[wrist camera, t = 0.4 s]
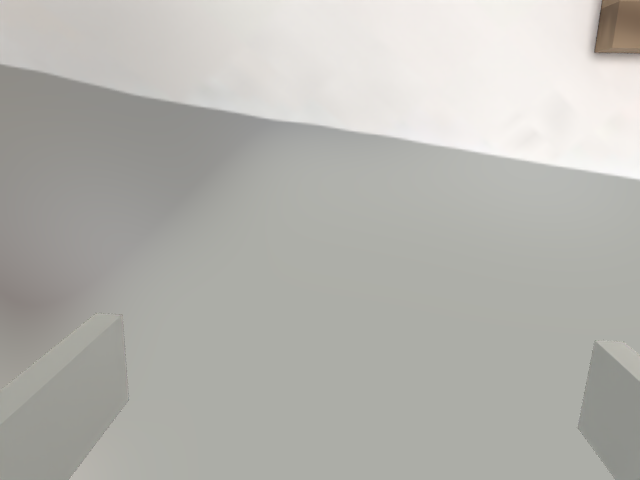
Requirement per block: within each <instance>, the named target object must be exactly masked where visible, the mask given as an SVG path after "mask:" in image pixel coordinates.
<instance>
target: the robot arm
mask: <svg viewBox="0 0 640 480" xmlns="http://www.w3.org/2000/svg"><path fill="white" fill-rule="evenodd" d="M128 401H129V393H128V380H127V367H126V354H125V341H124V328H123V315H122V314H104V313H103V314H102V313H96V314H94V315H93V316H92V317H91V318H89V319H88V320H87V321H86V322H84V323H83V324H82V325H81V326H79V327H78V328H77V329H76V330H75V331H73V332H72V333H71V334H70V335H68V336H67V337H66V338H65V339H63V340H62V341H61V342H60V343H58V344H57V345H56V346H55V347H53V348H52V349H51V350H50V351H48V352H47V353H46V354H45V355H43V356H42V357H41V358H40V359H38V360H37V361H36V362H35V363H33V364H32V365H31V366H30V367H28V368H27V369H26V370H25V371H24V372H22V373H21V374H20V375H18V376H17V377H16V378H15V379H14V380H12V381H11V382H10V383H9V384H7V385H6V386H5V387H4V388H2V389H1V390H0V480H69V479H70V477H71V476H72V475H73V473H74V472H75V471H76V470H77V468H78V467H79V466H80V464H81V463H82V462H83V460H84V459H85V458H86V456H87V455H88V453H89V452H90V451H91V449H92V448H93V447H94V446H95V444H96V443H97V441H98V440H99V439H100V438H101V436H102V435H103V434H104V432H105V431H106V430H107V428H108V427H109V426H110V424H111V423H112V422H113V421H114V419H115V418H116V417H117V415H118V414H119V412H120V411H121V410H122V409H123V407H124V406H125V405H126V403H127V402H128ZM578 429H579V430H580V432H581V433H582V435H583V436H584V437H585V439H586V440H587V442H588V443H589V444H590V446H591V447H592V448H593V450H594V451H595V452H596V454H597V455H598V457H599V458H600V459H601V461H602V462H603V463H604V465H605V466H606V467H607V469H608V470H609V472H610V473H611V474H612V476H613V477H614V479H615V480H640V355H639V354H638V353H637V352H635V351H634V350H633V349H632V348H630V347H629V346H628V345H627V344H625V343H624V342H620V341H600V340H595V342H594V347H593V351H592V357H591V362H590V367H589V372H588V377H587V382H586V387H585V392H584V397H583V403H582V407H581V413H580V418H579V423H578Z"/></svg>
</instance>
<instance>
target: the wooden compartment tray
mask: <svg viewBox="0 0 640 480" xmlns="http://www.w3.org/2000/svg"><path fill="white" fill-rule="evenodd" d="M595 52H598V53H640V0H602V6H601V13H600V20H599V26H598V33H597V40H596V46H595Z"/></svg>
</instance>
